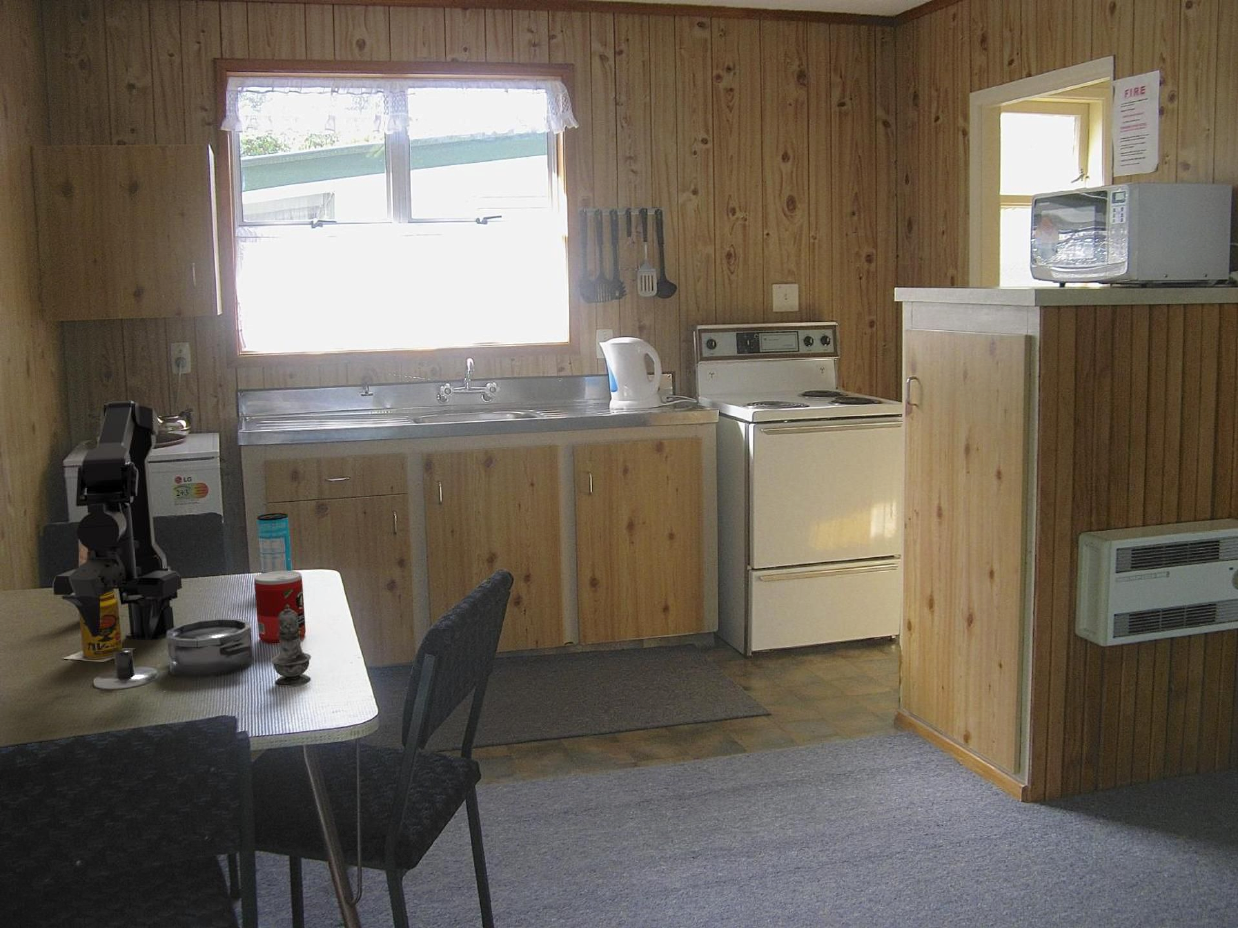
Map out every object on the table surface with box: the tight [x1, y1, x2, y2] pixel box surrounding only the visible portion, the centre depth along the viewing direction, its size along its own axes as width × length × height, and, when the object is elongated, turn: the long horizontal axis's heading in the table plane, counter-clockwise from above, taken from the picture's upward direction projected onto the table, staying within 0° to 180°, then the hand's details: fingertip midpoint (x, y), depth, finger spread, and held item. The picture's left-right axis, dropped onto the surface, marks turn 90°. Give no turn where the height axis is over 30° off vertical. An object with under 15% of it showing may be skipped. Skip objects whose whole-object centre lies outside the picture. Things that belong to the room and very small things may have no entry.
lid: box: [93, 649, 159, 690], centre depth 190 cm, size 9×9×5 cm
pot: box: [165, 617, 254, 679], centre depth 195 cm, size 18×13×6 cm
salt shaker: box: [270, 604, 312, 688], centre depth 185 cm, size 6×6×12 cm
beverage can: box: [256, 512, 293, 574], centre depth 245 cm, size 6×6×15 cm
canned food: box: [254, 570, 307, 645], centre depth 210 cm, size 8×8×11 cm
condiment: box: [62, 589, 136, 663], centre depth 204 cm, size 7×8×12 cm
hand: (122, 637), depth 189 cm, fingers open, 9 cm apart
